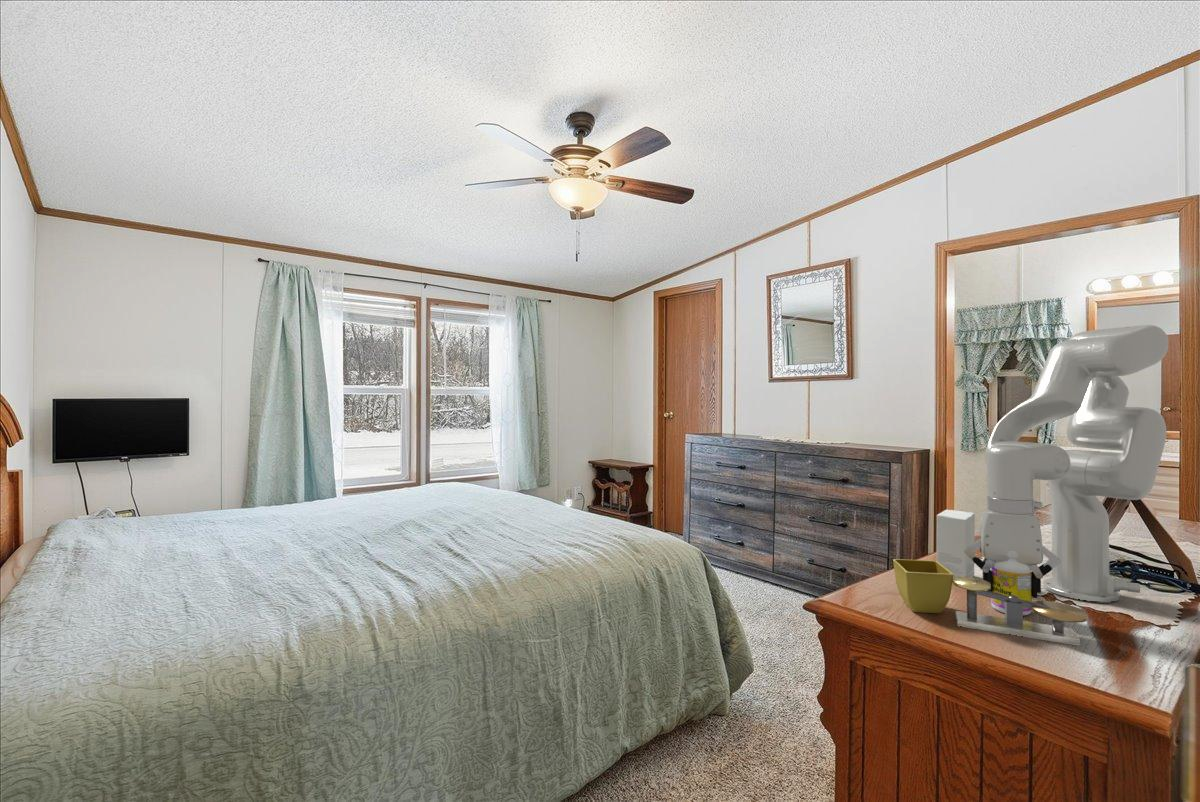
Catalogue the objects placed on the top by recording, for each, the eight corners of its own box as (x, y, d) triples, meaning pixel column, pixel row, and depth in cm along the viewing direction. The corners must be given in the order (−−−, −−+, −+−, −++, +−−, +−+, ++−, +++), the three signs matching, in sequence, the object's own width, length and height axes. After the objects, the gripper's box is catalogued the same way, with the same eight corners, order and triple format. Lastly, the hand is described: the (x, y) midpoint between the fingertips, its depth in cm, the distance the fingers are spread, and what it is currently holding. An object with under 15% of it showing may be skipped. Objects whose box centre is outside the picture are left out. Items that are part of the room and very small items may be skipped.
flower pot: (955, 619, 108) (954, 573, 108) (906, 616, 110) (906, 571, 109) (936, 602, 116) (936, 560, 116) (892, 599, 118) (892, 558, 118)
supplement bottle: (983, 604, 114) (982, 544, 114) (1012, 603, 115) (1011, 542, 115) (1009, 617, 108) (1009, 553, 108) (1040, 616, 108) (1040, 551, 108)
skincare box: (946, 570, 137) (945, 508, 137) (977, 576, 132) (976, 512, 132) (935, 578, 131) (934, 513, 131) (967, 584, 126) (966, 518, 126)
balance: (1080, 633, 100) (1080, 589, 100) (1093, 651, 93) (1093, 604, 93) (952, 613, 110) (951, 573, 110) (955, 628, 103) (954, 585, 103)
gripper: (1059, 505, 110) (1061, 593, 110) (957, 499, 119) (958, 581, 119) (1069, 513, 104) (1070, 606, 104) (960, 506, 112) (962, 592, 112)
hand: (1011, 592), depth 111 cm, fingers closed on supplement bottle, 6 cm apart
